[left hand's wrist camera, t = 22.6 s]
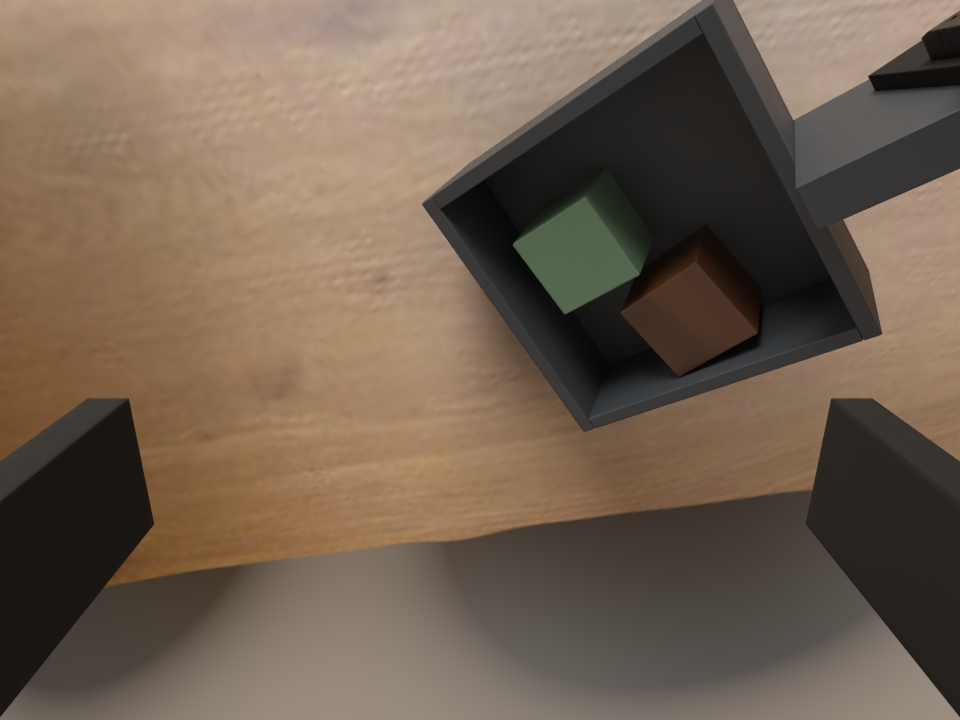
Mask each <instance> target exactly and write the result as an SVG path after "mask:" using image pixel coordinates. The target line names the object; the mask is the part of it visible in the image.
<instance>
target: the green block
mask: <svg viewBox="0 0 960 720" xmlns="http://www.w3.org/2000/svg"><path fill="white" fill-rule="evenodd" d="M653 240H654V236H653V234H652V233H651V232H650V230H649V229H648V227H647V226H646V224H645V223H644V221H643V220H642V218H641V217H640V215H639V214H638V212H637V211H636V209H635V208H634V206H633V205H632V204H631V202H630V201H629V199H628V198H627V196H626V195H625V193H624V192H623V190H622V189H621V187H620V186H619V184H618V183H617V181H616V180H615V179H614V177H613V176H612V174H611V173H610V171H609V170H608V168H607V167H604V168H603V169H601V170H600V171H598V172H597V173H595V174H594V175H592V176H591V177H589V178H588V179H586V180H585V181H583V182H582V183H580V184H579V185H577V186H576V187H574V188H573V189H571V190H570V191H568V192H567V193H565V194H564V195H562V196H561V197H559V198H558V199H556V200H555V201H553V202H552V203H551V204H549V205H548V206H546V207H545V208H543V209H542V210H540V211H539V212H538V213H537V214H536V216H535V217H534V218H533V219H532V221H531V222H530V223H529V225H528V226H527V227H526V228H525V230H524V231H523V232H522V233H521V235H520V236H519V237H518V238H517V240H516V241H515V242H514V244H513V246H514V248H515V249H516V250H517V252H518V253H519V254H520V256H521V257H522V258H523V260H524V261H525V262H526V264H527V265H528V266H529V268H530V269H531V270H532V272H533V273H534V274H535V276H536V277H537V278H538V280H539V281H540V282H541V284H542V285H543V286H544V288H545V289H546V290H547V292H548V293H549V294H550V296H551V297H552V298H553V300H554V301H555V302H556V304H557V305H558V306H559V308H560V309H561V310H562V312H563V313H564V314H567V313H569V312H571V311H573V310H575V309H577V308H579V307H581V306H583V305H584V304H586V303H588V302H590V301H592V300H594V299H596V298H598V297H599V296H601V295H603V294H605V293H607V292H609V291H611V290H613V289H615V288H616V287H618V286H620V285H622V284H624V283H626V282H628V281H630V280H631V279H633V278H635V277H637V276H639V275H640V273H641V270H642V267H643V265H644V262H645V260H646V257H647V255H648V252H649V250H650V247H651V245H652V242H653Z"/></svg>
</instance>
